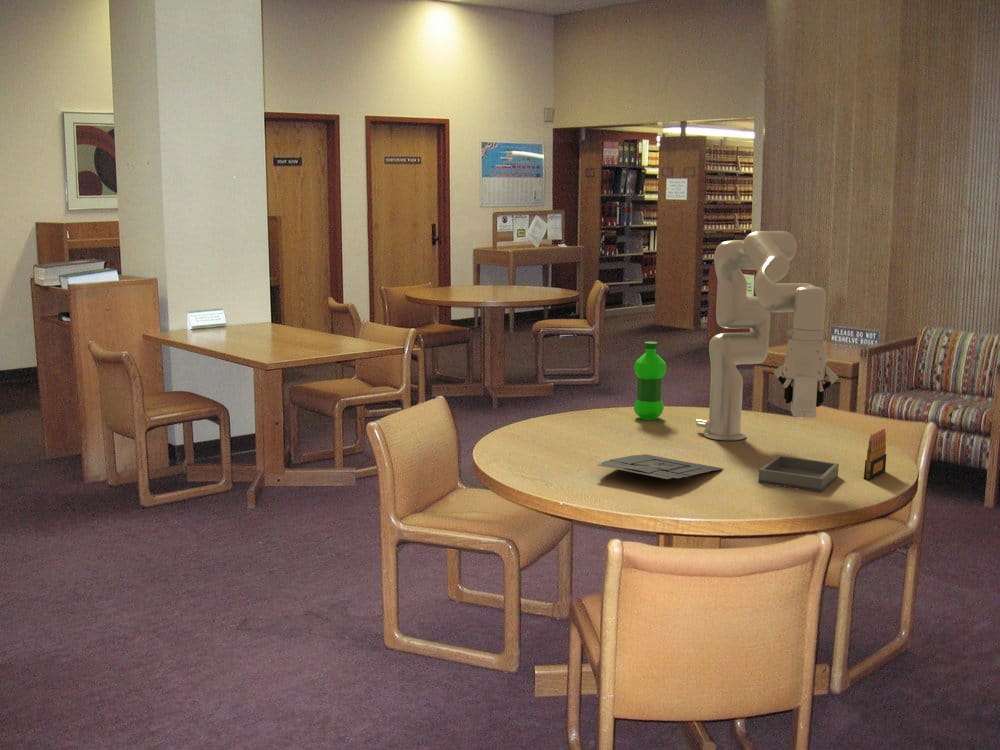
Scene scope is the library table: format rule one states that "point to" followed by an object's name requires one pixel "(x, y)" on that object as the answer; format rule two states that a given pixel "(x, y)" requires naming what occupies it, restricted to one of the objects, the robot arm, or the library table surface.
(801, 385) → the small box
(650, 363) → the plastic bottle
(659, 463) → the dark grey grooved panel
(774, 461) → the tray
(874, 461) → the ammunition clip
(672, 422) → the library table surface
